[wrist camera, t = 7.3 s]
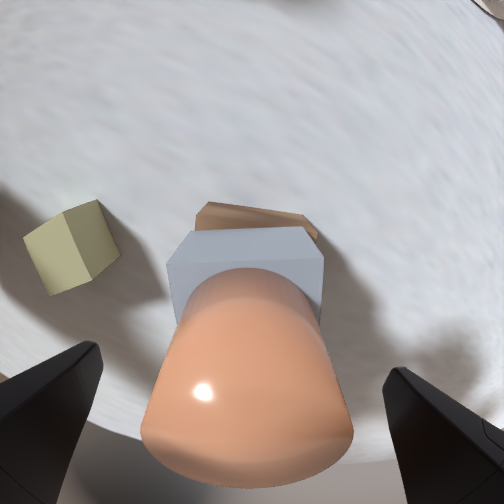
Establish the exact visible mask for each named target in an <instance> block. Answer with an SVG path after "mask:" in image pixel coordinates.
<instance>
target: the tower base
mask: <svg viewBox="0 0 504 504" xmlns="http://www.w3.org/2000/svg"><path fill="white" fill-rule="evenodd" d="M300 226H302V227H303V228H304V229H305V231H306V232H307V234H308V235H309V236H310V238H311V239H312V241H313V242H314V244H315V245H316V240H317V235H318V232H317V231H316V230H315V228H314V227H313V226H312V225H311V224H310V223H309V221H308V220H307V219H306V218H305V217H304V216H303V215H299V214H293V213H287V212H280V211H274V210H267V209H260V208H253V207H246V206H239V205H231V204H224V203H216V202H208V203H207V204H206V205H205V206H204V207H203V208H202V210H201V211H200V212H199V213H198V214H197V215H196V223H195V231H203V230H223V229H245V228H271V227H300Z"/></svg>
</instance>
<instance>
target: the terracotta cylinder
mask: <svg viewBox="0 0 504 504" xmlns="http://www.w3.org/2000/svg"><path fill="white" fill-rule="evenodd" d="M140 433H141V438H142V441H143V443H144V445H145V447H146V448H147V449H148V451H149V452H150V453H151V454H152V455H153V456H154V457H155V458H156V459H157V460H158V461H159V462H161V463H162V464H163V465H165V466H166V467H168V468H169V469H171V470H173V471H175V472H176V473H179V474H181V475H183V476H185V477H188V478H190V479H193V480H196V481H199V482H203V483H206V484H211V485H216V486H222V487H229V488H246V489H247V488H248V489H253V488H268V487H275V486H281V485H286V484H290V483H294V482H297V481H301V480H304V479H306V478H309V477H311V476H314V475H316V474H318V473H320V472H322V471H323V470H325V469H327V468H329V467H330V466H331V465H333V464H334V463H336V462H337V461H338V460H339V459H340V458H341V457H342V456H343V455H344V454H345V453H346V451H347V450H348V448H349V447H350V445H351V443H352V440H353V433H354V430H353V425H352V422H351V419H350V416H349V413H348V410H347V407H346V404H345V400H344V398H343V395H342V392H341V389H340V386H339V383H338V380H337V377H336V374H335V371H334V368H333V365H332V362H331V360H330V357H329V354H328V351H327V348H326V346H325V343H324V340H323V337H322V334H321V332H320V329H319V326H318V324H317V321H316V318H315V315H314V313H313V310H312V307H311V305H310V303H309V301H308V299H307V297H306V296H305V294H304V293H303V291H302V290H301V289H300V288H299V287H298V286H297V285H296V284H294V283H293V282H292V281H291V280H289V279H287V278H286V277H284V276H282V275H280V274H278V273H275V272H272V271H269V270H265V269H259V268H235V269H230V270H226V271H223V272H220V273H217V274H215V275H213V276H211V277H209V278H208V279H206V280H205V281H203V282H202V283H201V284H200V285H199V286H198V287H196V288H195V290H194V291H193V292H192V293H191V295H190V296H189V298H188V300H187V302H186V304H185V307H184V309H183V312H182V314H181V317H180V319H179V322H178V325H177V327H176V330H175V332H174V335H173V337H172V340H171V343H170V345H169V348H168V351H167V353H166V356H165V359H164V361H163V364H162V367H161V369H160V372H159V375H158V378H157V380H156V383H155V386H154V389H153V392H152V394H151V397H150V400H149V403H148V406H147V409H146V412H145V415H144V418H143V421H142V424H141V430H140Z"/></svg>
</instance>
